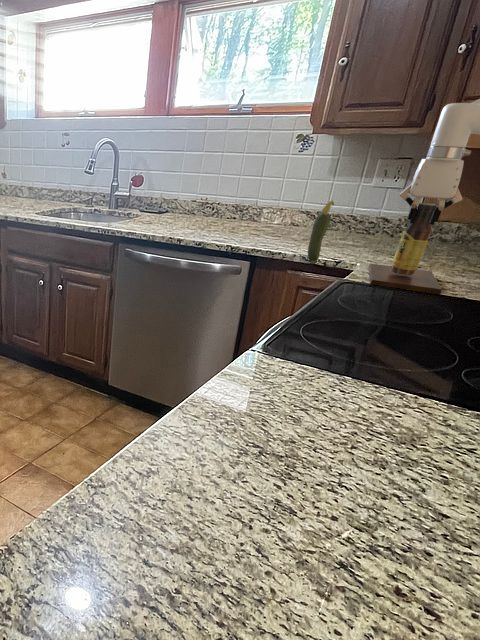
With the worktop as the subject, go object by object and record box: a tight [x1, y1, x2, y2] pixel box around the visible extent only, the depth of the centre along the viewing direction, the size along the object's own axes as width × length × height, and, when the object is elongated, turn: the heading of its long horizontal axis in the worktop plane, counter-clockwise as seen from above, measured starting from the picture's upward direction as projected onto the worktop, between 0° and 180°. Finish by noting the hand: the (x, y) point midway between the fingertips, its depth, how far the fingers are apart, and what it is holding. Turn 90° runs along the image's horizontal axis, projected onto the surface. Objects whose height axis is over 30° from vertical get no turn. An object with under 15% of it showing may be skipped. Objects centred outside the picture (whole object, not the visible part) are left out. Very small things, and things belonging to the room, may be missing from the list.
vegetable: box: [307, 200, 335, 265], centre depth 168 cm, size 4×4×20 cm
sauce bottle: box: [390, 202, 438, 275], centre depth 150 cm, size 7×6×20 cm
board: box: [367, 263, 443, 295], centre depth 155 cm, size 16×24×2 cm, turn 148°
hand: (421, 222), depth 148 cm, fingers closed on sauce bottle, 4 cm apart
